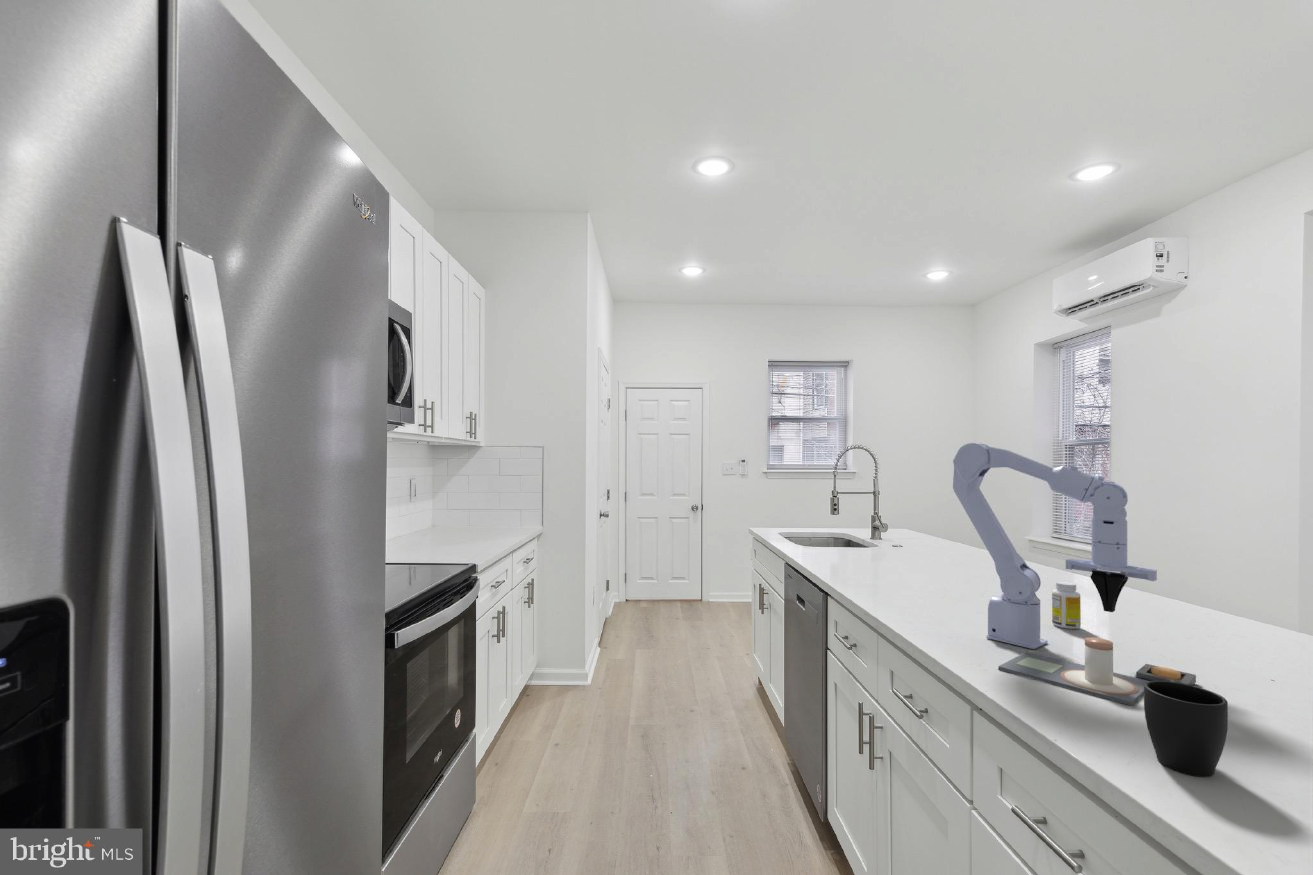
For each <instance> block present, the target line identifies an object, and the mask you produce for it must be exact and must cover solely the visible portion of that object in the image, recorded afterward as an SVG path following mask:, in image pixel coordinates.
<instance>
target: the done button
mask: <svg viewBox="0 0 1313 875" xmlns="http://www.w3.org/2000/svg"><path fill="white" fill-rule="evenodd" d="M1178 671H1179V670H1175V669H1172V668H1168V667H1164V666H1163V667H1162V666H1158V667H1152V668H1151V674H1154V675H1159V676H1163V677H1167V678H1171V679H1176V680H1180V681H1181V673H1180V672H1178Z"/></svg>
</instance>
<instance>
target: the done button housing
mask: <svg viewBox="0 0 1313 875" xmlns="http://www.w3.org/2000/svg"><path fill="white" fill-rule="evenodd" d="M1152 667H1159V666H1158V665H1152V664H1148V663H1145V664H1144V665H1142V667H1140V668H1139V669H1138V670H1137V671H1136V672H1135V678H1139V679H1143V680H1147V681H1170V680H1176V679H1171V678H1167V677H1163V676H1159V675H1154V674H1151V668H1152ZM1177 671H1178V672H1180V673H1181V681H1180V680H1177V681H1180V682H1182V683H1183V684H1188V685H1192V686H1196V684H1195V683H1197V675H1196V674H1195V673H1189V672H1185V671H1181V670H1177Z"/></svg>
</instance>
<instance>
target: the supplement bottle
mask: <svg viewBox="0 0 1313 875" xmlns="http://www.w3.org/2000/svg"><path fill="white" fill-rule="evenodd" d="M1081 611H1082V610H1081V593H1079V592H1078V591H1077V584H1076V583H1074V582H1070V581H1060V580H1059V581H1058V580H1057V581H1056V582H1055V589H1053V590H1051V618H1052V619H1051V622H1052V624H1053V626H1055V627H1057V628H1061V629H1066V630H1068V629H1069V630H1078V629H1080V628H1081V627H1082V626H1081V624H1082V623H1081V622H1082V621H1081V613H1082V612H1081Z"/></svg>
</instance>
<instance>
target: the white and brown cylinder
mask: <svg viewBox="0 0 1313 875" xmlns="http://www.w3.org/2000/svg"><path fill="white" fill-rule="evenodd" d="M1084 665H1085V680H1087V681H1089V682H1091V683H1094V684H1098V685H1106V686H1110V685H1113V672H1114V643H1113V641H1111V640H1108V639H1104V638H1100V637H1092V636H1090V637H1084Z"/></svg>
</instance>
